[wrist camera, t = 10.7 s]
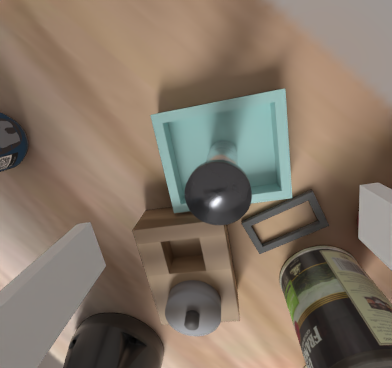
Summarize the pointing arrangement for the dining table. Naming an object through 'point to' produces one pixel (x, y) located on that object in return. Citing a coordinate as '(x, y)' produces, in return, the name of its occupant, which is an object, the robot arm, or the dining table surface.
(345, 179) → the dining table surface
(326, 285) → the coffee can
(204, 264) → the block
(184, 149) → the tray
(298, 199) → the gray rectangular frame
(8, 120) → the soda can
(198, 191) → the pin
